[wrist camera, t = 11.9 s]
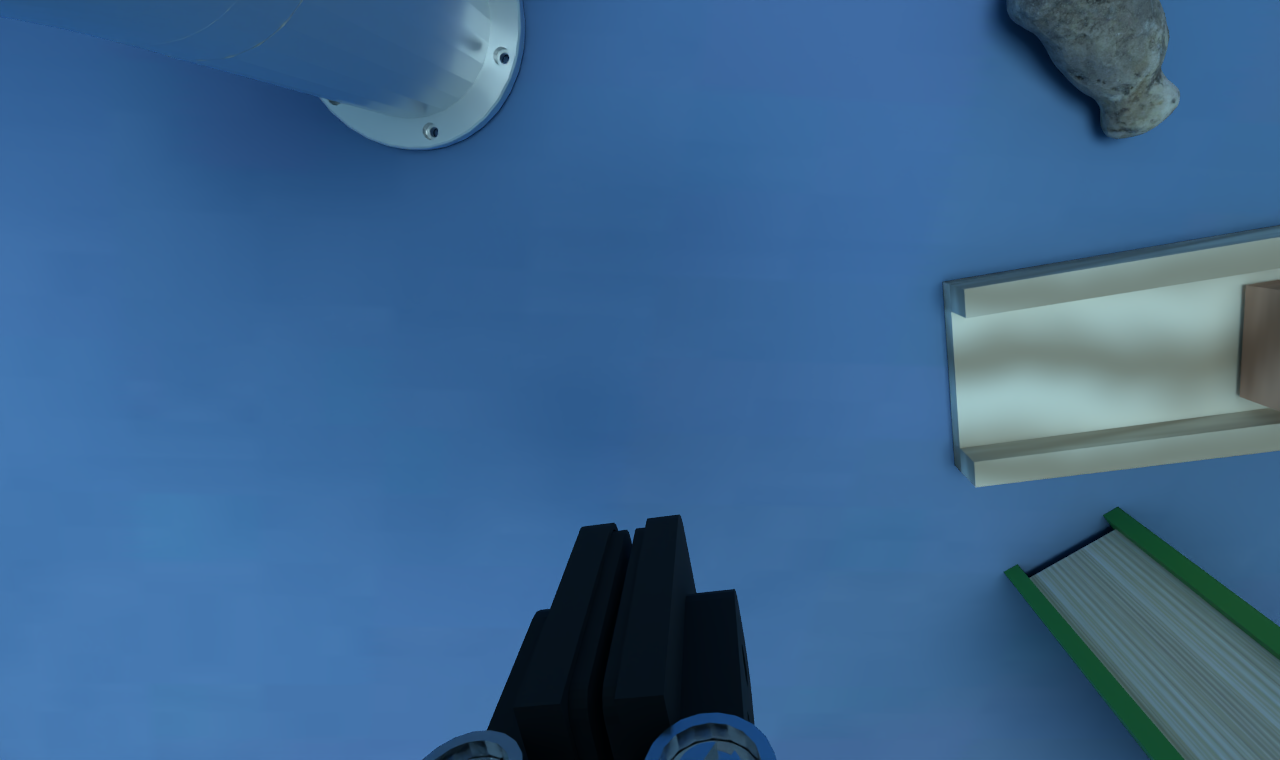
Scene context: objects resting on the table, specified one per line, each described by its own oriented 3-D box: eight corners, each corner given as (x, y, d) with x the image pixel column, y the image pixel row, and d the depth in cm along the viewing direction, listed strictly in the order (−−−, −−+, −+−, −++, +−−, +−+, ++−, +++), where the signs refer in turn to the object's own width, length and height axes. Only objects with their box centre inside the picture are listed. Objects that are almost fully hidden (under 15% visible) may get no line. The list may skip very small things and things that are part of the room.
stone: (1147, 123, 32) (1308, -47, 25) (1126, 175, 30) (1301, 0, 23) (970, 38, 34) (1076, -141, 28) (936, 79, 32) (1044, -107, 25)
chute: (942, 281, 34) (964, 289, 32) (1360, 211, 31) (1425, 212, 29) (954, 465, 37) (975, 487, 34) (1339, 416, 34) (1397, 436, 31)
